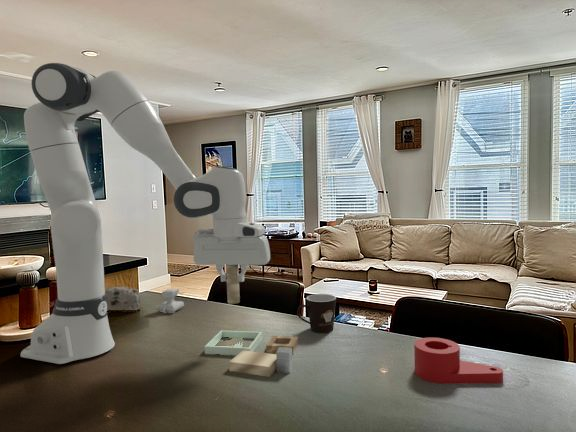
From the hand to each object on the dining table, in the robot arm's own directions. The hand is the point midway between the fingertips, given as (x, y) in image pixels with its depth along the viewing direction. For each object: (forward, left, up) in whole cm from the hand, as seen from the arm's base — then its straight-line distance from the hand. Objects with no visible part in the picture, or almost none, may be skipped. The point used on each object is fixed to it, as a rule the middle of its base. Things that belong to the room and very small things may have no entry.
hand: (232, 281), depth 110 cm
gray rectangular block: (+16, -12, -18) cm, 27 cm away
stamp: (-32, +27, -18) cm, 46 cm away
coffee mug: (+20, +15, -18) cm, 31 cm away
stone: (-50, +25, -19) cm, 59 cm away
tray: (0, 0, -18) cm, 18 cm away
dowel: (0, 0, -6) cm, 6 cm away
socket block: (+13, 0, -18) cm, 22 cm away
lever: (+54, -9, -18) cm, 58 cm away
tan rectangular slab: (+9, -12, -18) cm, 24 cm away
